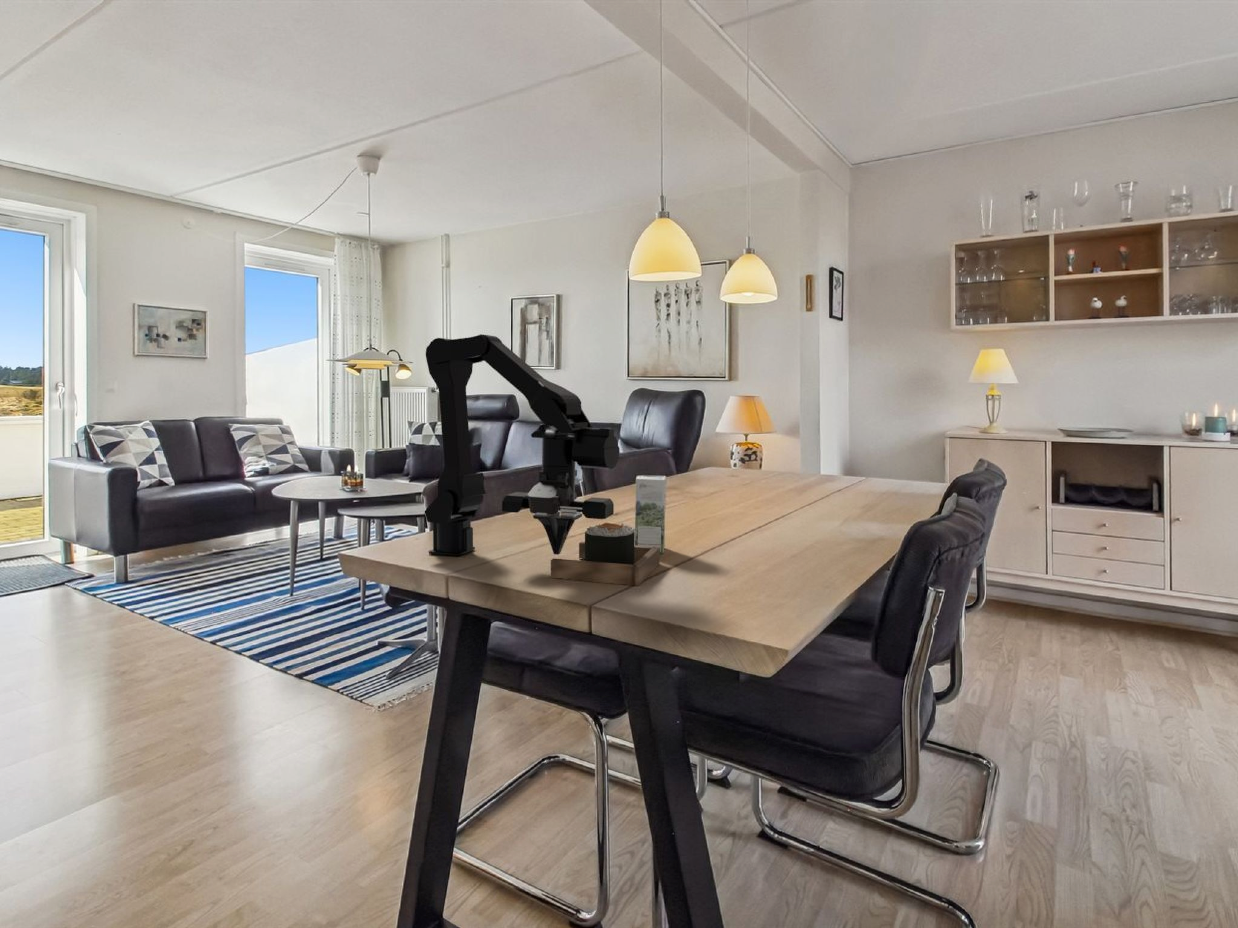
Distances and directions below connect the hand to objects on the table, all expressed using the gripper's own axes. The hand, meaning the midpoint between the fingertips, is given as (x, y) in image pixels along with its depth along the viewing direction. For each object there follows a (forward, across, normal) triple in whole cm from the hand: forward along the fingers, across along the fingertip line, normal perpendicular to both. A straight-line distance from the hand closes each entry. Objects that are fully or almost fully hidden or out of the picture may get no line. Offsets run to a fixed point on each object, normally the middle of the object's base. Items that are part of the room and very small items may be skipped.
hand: (556, 554), depth 122 cm
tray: (+2, +10, 0) cm, 10 cm away
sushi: (+2, +10, 0) cm, 10 cm away
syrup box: (+2, +12, +18) cm, 22 cm away
